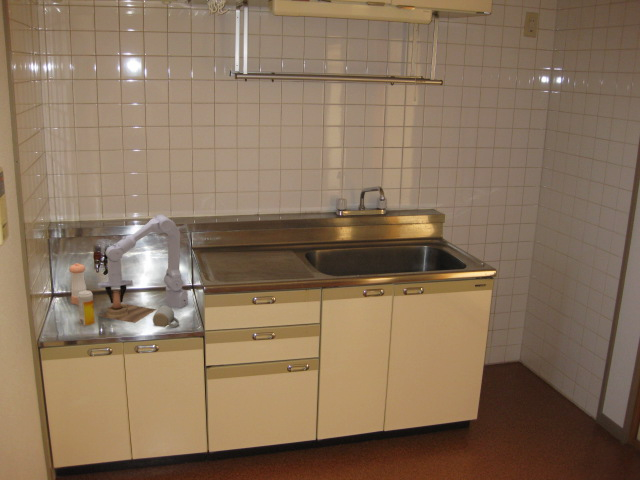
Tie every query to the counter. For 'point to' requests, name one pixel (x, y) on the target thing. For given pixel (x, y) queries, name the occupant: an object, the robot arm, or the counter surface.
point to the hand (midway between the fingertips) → (116, 302)
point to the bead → (117, 311)
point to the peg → (116, 299)
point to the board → (133, 313)
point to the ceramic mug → (165, 317)
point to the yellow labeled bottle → (86, 307)
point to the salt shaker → (77, 281)
